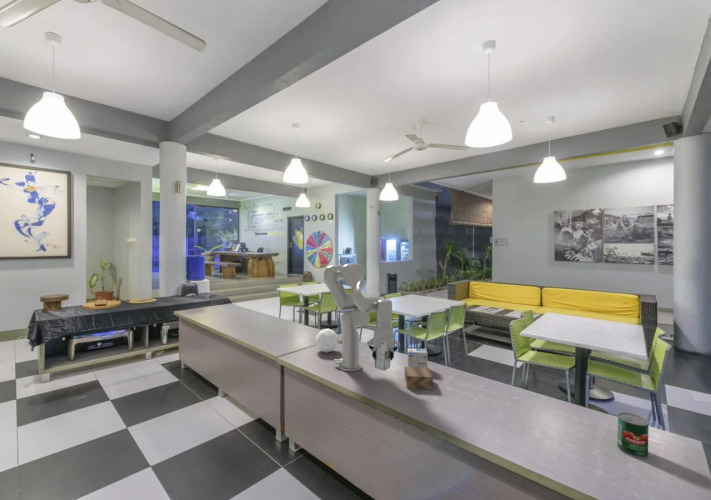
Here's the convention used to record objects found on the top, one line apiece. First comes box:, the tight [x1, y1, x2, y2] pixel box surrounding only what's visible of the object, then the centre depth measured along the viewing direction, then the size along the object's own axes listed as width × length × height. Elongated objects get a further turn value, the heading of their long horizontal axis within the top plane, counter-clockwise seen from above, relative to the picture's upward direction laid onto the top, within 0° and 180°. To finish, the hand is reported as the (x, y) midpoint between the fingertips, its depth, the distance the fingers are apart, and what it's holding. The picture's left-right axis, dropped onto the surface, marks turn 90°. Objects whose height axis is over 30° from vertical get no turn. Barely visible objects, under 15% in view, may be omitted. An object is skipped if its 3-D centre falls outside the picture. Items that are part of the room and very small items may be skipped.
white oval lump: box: [314, 328, 342, 354], centre depth 206 cm, size 14×15×20 cm
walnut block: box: [404, 366, 434, 390], centre depth 159 cm, size 12×12×6 cm
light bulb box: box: [407, 348, 428, 367], centre depth 177 cm, size 11×7×11 cm, turn 84°
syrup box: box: [374, 341, 391, 372], centre depth 160 cm, size 6×6×14 cm
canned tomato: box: [616, 411, 650, 459], centre depth 108 cm, size 8×8×11 cm
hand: (382, 358), depth 161 cm, fingers closed on syrup box, 8 cm apart
